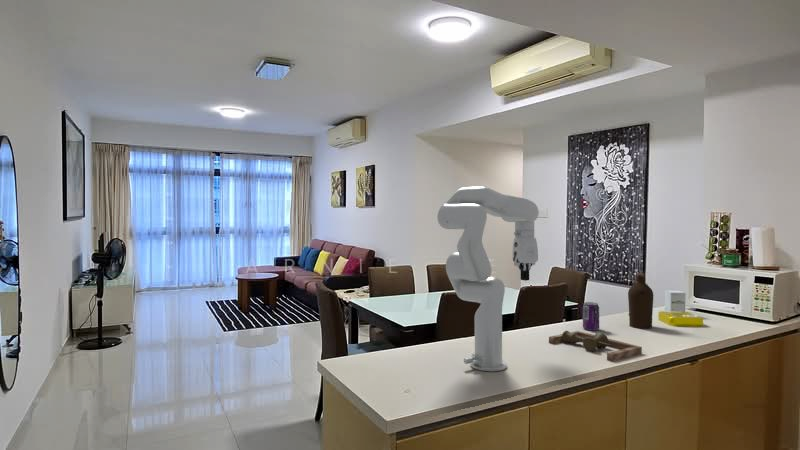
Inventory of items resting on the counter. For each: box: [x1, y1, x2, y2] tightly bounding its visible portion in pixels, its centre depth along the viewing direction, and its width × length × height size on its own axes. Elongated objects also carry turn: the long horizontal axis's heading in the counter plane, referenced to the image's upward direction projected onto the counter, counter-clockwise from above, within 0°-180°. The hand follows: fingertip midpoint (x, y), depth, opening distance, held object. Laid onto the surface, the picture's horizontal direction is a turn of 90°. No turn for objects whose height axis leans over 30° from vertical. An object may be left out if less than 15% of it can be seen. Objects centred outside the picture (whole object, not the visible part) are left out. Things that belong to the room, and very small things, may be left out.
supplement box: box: [664, 289, 687, 312], centre depth 239 cm, size 7×7×13 cm
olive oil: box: [627, 272, 654, 330], centre depth 215 cm, size 11×11×25 cm
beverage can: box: [582, 301, 600, 331], centre depth 211 cm, size 7×7×12 cm
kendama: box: [561, 330, 611, 353], centre depth 183 cm, size 6×10×20 cm
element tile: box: [657, 311, 704, 328], centre depth 222 cm, size 15×15×5 cm
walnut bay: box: [548, 330, 643, 362], centre depth 181 cm, size 18×29×2 cm, turn 30°
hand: (524, 280), depth 183 cm, fingers closed
